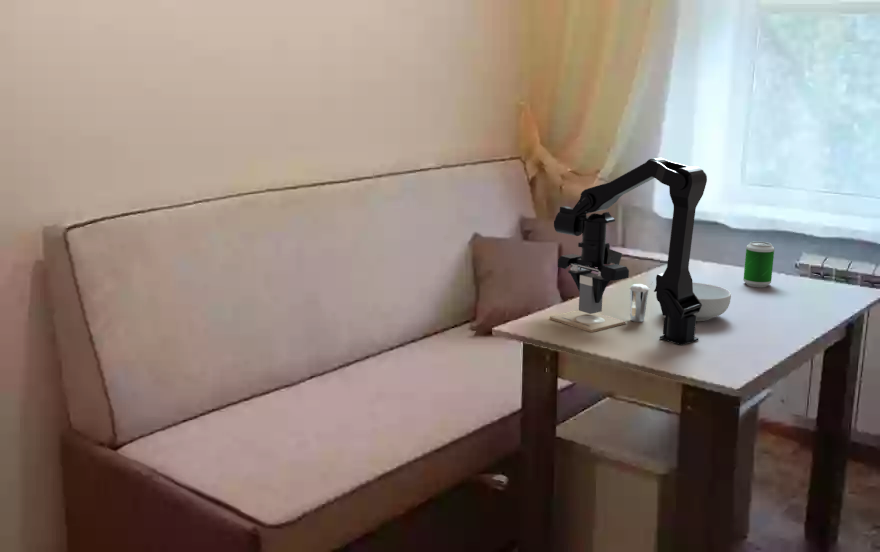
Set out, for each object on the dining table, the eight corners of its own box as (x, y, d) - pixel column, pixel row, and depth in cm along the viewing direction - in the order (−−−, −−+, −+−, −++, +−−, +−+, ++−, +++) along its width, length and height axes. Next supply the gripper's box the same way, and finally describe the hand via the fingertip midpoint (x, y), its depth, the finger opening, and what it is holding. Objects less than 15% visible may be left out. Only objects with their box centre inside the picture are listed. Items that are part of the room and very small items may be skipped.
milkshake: (650, 323, 234) (652, 283, 232) (627, 322, 235) (630, 282, 233) (650, 318, 238) (652, 279, 236) (628, 317, 239) (630, 278, 237)
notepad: (625, 323, 234) (625, 321, 233) (591, 332, 226) (591, 329, 226) (583, 311, 244) (583, 308, 244) (549, 318, 237) (549, 316, 237)
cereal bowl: (708, 330, 229) (711, 302, 227) (647, 317, 240) (649, 289, 238) (740, 316, 241) (743, 289, 240) (681, 304, 252) (683, 278, 250)
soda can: (774, 288, 270) (778, 246, 267) (747, 287, 270) (751, 246, 267) (765, 281, 277) (769, 241, 275) (739, 281, 277) (743, 240, 275)
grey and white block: (602, 311, 237) (603, 275, 235) (590, 314, 235) (592, 278, 233) (589, 307, 240) (591, 272, 238) (578, 310, 238) (580, 275, 236)
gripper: (645, 241, 231) (641, 303, 235) (588, 229, 245) (585, 288, 249) (614, 246, 224) (611, 311, 228) (557, 234, 239) (555, 295, 242)
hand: (590, 300), depth 237 cm, fingers closed on grey and white block, 4 cm apart
